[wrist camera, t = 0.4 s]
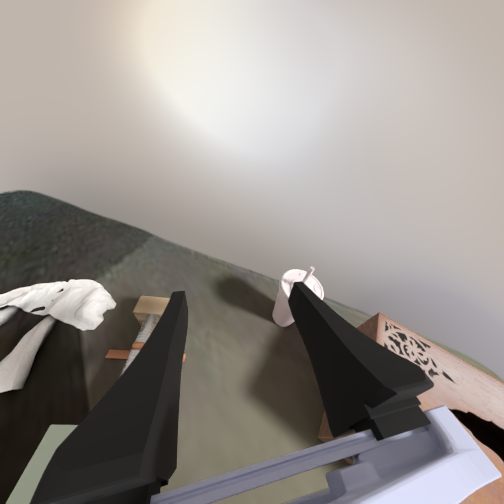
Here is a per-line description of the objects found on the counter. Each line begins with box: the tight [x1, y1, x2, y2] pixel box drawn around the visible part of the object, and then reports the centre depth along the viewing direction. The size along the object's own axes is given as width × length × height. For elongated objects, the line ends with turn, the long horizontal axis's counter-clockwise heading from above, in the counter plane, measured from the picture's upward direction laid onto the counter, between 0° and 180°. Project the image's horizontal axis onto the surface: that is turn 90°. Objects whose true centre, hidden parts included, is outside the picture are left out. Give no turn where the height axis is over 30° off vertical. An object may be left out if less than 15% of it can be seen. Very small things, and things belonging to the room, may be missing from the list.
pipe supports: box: [105, 296, 186, 362], centre depth 20 cm, size 21×10×4 cm, turn 179°
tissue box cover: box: [318, 313, 504, 504], centre depth 20 cm, size 26×14×10 cm, turn 57°
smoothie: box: [272, 267, 324, 327], centre depth 28 cm, size 6×6×14 cm
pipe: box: [119, 314, 161, 378], centre depth 20 cm, size 21×2×2 cm, turn 179°
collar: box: [6, 425, 78, 504], centre depth 16 cm, size 4×6×7 cm
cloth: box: [0, 280, 116, 393], centre depth 23 cm, size 20×22×2 cm
